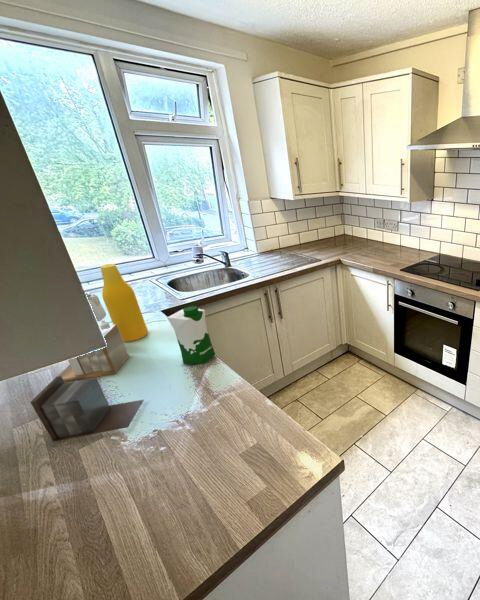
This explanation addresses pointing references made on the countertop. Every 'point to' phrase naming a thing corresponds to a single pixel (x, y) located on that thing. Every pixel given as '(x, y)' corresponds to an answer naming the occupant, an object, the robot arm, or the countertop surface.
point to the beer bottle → (122, 305)
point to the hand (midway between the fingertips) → (72, 336)
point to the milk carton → (192, 335)
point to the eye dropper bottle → (104, 325)
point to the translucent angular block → (101, 358)
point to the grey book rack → (80, 409)
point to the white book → (76, 366)
